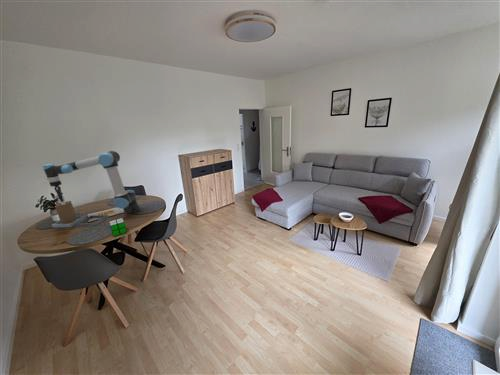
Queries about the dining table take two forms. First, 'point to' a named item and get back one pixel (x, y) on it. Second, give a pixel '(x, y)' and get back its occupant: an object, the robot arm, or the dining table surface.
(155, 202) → the dining table surface
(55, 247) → the dining table surface
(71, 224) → the bin
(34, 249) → the dining table surface
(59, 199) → the robot arm
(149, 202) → the dining table surface
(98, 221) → the collar
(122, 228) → the puzzle cube
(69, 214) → the wooden block
